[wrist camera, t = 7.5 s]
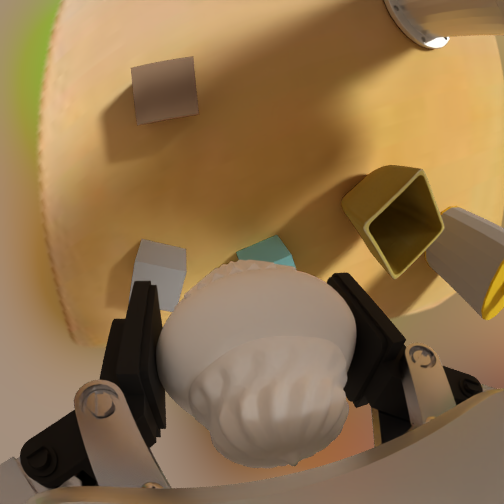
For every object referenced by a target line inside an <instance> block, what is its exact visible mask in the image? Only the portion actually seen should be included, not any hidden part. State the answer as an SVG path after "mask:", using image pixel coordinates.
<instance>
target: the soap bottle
mask: <svg viewBox="0 0 504 504" xmlns="http://www.w3.org/2000/svg"><path fill="white" fill-rule="evenodd" d="M440 215H441V217H442V220H443V223H444V230H443V231H442V233H441V234H440V235H439V236H438V238H437V239H436V240H435V241H434V242H433V243H432V244H431V245H430V246H429V247H428V248H427V249H426V250H425V260H426V261H427V263H428V265H429V266H430V267H431V268H432V269H433V270H434V271H435V272H436V273H438V274H439V275H440V276H441V277H442V278H443V279H444V280H445V281H446V282H447V283H448V284H449V285H450V286H451V287H452V288H453V289H454V290H455V291H456V292H457V293H459V295H461V297H462V298H463V299H464V300H465V301H466V302H467V303H468V304H469V305H471V307H472V308H473V309H474V310H475V311H476V312H477V313H478V314H479V315H480V316H481V317H482V318H483V319H485V320H489V319H491V318H493V317H494V316H496V315H497V314H498V313H499V312H500V311H501V310H502V309H503V308H504V228H502V227H500V226H498V225H496V224H494V223H492V222H490V221H488V220H486V219H484V218H482V217H480V216H477V215H475V214H473V213H471V212H469V211H466V210H464V209H462V208H459V207H457V206H455V207H449V208H447V209H446V210H444V211H442V212H441V213H440Z"/></svg>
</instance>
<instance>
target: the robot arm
mask: <svg viewBox="0 0 504 504" xmlns="http://www.w3.org/2000/svg"><path fill="white" fill-rule="evenodd" d="M384 2H385V4H386V7H387V9H388V11H389V13H390V15H391V17H392V18H393V20H394V21H395V23H396V24H397V25H398V26H399V28H400V29H401V30H402V31H403V32H404V33H405V34H406V35H407V36H408V37H409V38H410V39H411V40H412V41H414V42H415V43H417V44H418V45H420V46H422V47H425V48H429V49H437V48H441V47H443V46H445V45H446V44H447V42H448V41H449V38H450V37H452V36H470V35H504V0H384ZM327 284H328V285H330V286H331V287H332V288H333V289H334V290H336V291H337V292H338V293H339V295H340V296H341V297H342V298H343V299H344V300H345V302H346V303H347V305H348V306H349V308H350V310H351V312H352V314H353V316H354V319H355V323H356V330H357V337H356V346H355V351H354V355H353V358H352V361H351V364H350V367H349V370H348V372H347V382H346V385H345V387H344V388H343V390H344V391H345V394H346V397H347V398H348V400H349V401H352V402H353V403H354V405H355V407H356V408H357V407H360V406H363V405H366V404H368V403H369V404H370V406H371V413H372V423H373V434H374V448H372V449H369V450H367V451H365V452H362V453H359V454H357V455H354V456H351V457H348V458H345V459H342V460H340V461H336V462H333V463H330V464H327V465H324V466H320V467H317V468H313V469H310V470H306V471H302V472H298V473H294V474H289V475H285V476H281V477H275V478H270V479H265V480H260V481H254V482H247V483H240V484H233V485H223V486H212V487H199V488H198V487H197V488H176V489H175V488H171V486H170V484H169V483H168V481H167V479H166V477H165V476H164V474H163V472H162V470H161V468H160V467H159V465H158V463H157V461H156V459H155V457H154V455H153V453H152V451H151V449H150V447H151V446H153V445H154V444H155V443H156V437H161V435H160V429H166V409H165V389H164V387H163V385H162V383H161V381H160V379H159V376H158V371H157V365H156V347H157V343H158V339H159V336H160V333H161V331H162V321H161V314H160V307H159V298H158V290H157V285H151V281H134V285H133V289H132V293H131V297H130V301H129V306H128V310H127V315H126V319H114V320H113V322H112V325H111V329H110V333H109V337H108V342H107V346H106V350H105V356H104V360H103V365H102V369H101V375H100V380H94V381H91V382H88V383H86V384H84V385H83V386H82V387H81V388H79V390H78V391H77V393H76V395H75V398H74V408H75V410H74V411H72V412H70V413H69V414H67V415H66V416H65V417H63V418H61V419H60V420H59V421H57V422H56V423H54V424H52V425H51V426H49V427H48V428H46V429H45V430H43V431H42V432H40V433H39V434H37V435H36V436H34V437H33V438H31V439H29V440H28V441H27V442H26V443H25V444H24V446H23V447H22V449H21V453H20V457H19V458H17V459H15V458H14V457H12V458H10V459H9V460H7V461H5V462H4V463H2V464H1V465H0V504H504V388H500V389H497V388H493V387H490V386H486V385H483V384H482V385H481V384H480V382H479V381H478V380H477V379H476V378H475V377H473V376H471V375H469V374H465V373H463V372H460V371H457V370H454V369H450V368H448V367H445V366H442V364H441V361H440V358H439V356H438V354H437V353H436V352H435V351H434V349H432V348H431V347H430V346H428V345H426V344H423V343H411V344H409V345H408V346H407V347H406V346H405V345H404V343H405V341H406V339H405V337H404V336H403V335H402V334H401V333H400V332H399V330H398V329H397V328H396V327H395V325H394V324H393V323H392V322H391V321H390V320H389V318H388V317H387V316H386V315H385V314H384V313H383V311H382V310H381V309H380V308H379V307H378V306H377V304H376V303H375V302H374V301H373V300H372V299H371V298H370V296H369V295H368V294H367V293H366V292H365V291H364V290H363V288H362V287H361V286H360V285H359V284H358V283H357V282H356V281H355V280H354V278H353V277H352V276H351V275H350V274H349V273H334V274H333V275H332V277H330V278H329V279H328V281H327ZM412 425H413V426H412Z"/></svg>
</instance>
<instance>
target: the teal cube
mask: <svg viewBox="0 0 504 504" xmlns="http://www.w3.org/2000/svg"><path fill="white" fill-rule="evenodd" d="M236 253H237V256H238V259H239V260H245V261H246V260H257V261H266V262H273V263H274V264H279V265H286V266H292V267H295V264H294V261H293V258H292V255H291V253H290V252H289V250H288V249H287V248H286V246H285V245H284V244H283V242H282V241H281V239H280V238H279V237H278V235H275V236H272V237H270V238H268V239H266V240H263V241H261V242H259V243H256V244H254V245H252V246H249V247H247V248H245V249H242V250H240V251H238V252H236ZM295 268H296V267H295Z"/></svg>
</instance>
